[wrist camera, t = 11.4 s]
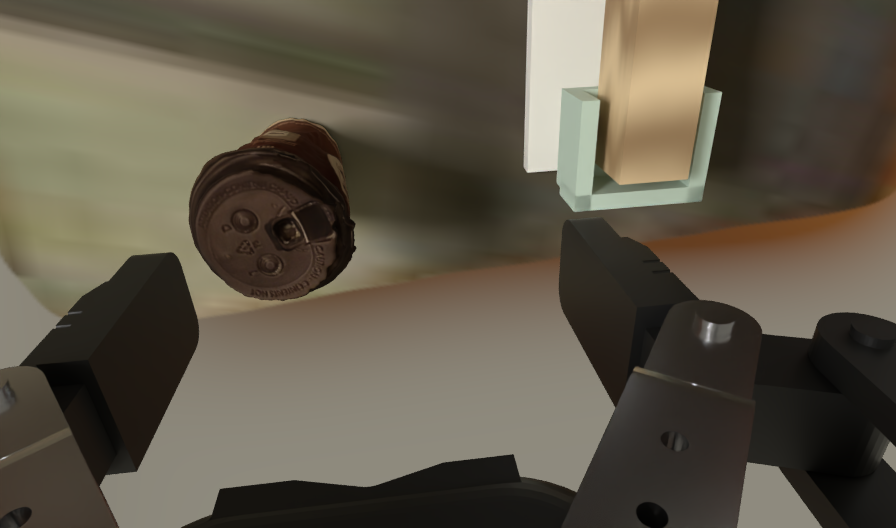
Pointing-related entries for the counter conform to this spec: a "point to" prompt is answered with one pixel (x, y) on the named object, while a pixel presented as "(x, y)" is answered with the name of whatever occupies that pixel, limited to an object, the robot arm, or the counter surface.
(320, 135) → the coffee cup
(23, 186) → the counter surface
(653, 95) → the tan rectangular bar
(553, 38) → the bracket stand
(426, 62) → the counter surface
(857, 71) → the counter surface
